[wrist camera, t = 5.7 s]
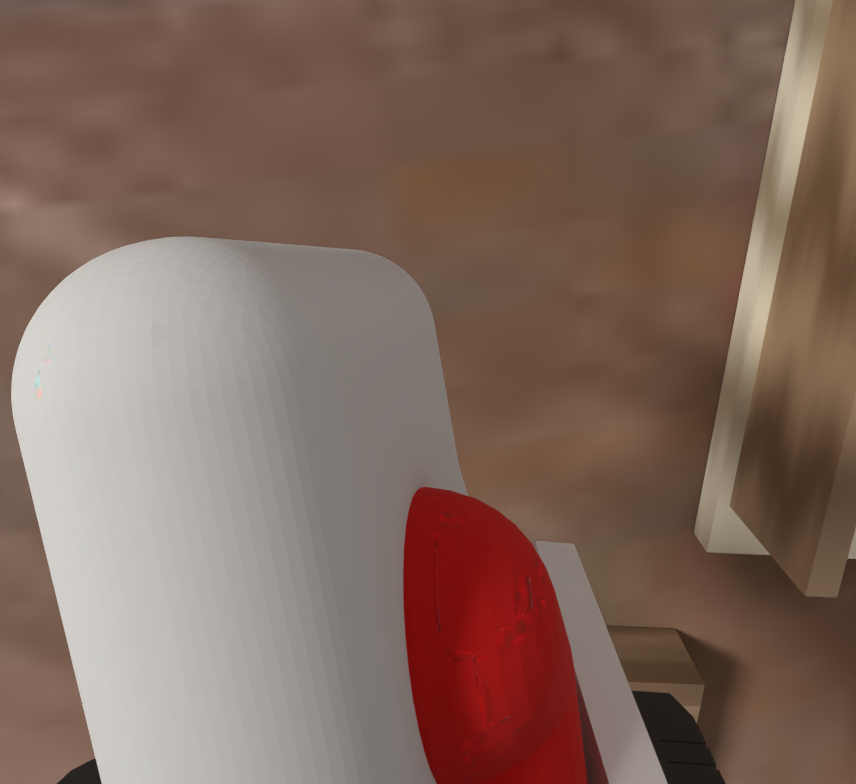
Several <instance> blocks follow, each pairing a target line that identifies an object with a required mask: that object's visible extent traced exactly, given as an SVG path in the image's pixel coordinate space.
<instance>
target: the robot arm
mask: <svg viewBox="0 0 856 784" xmlns="http://www.w3.org/2000/svg"><path fill="white" fill-rule="evenodd" d="M534 548H535V550H536V552H537V553H538V555H539V556H540V558H541V560H542V561H543V563H544V565H545V566H546V569H547V571H548V574H549V576H550V579H551V581H552V584H553V586H554V589H555V593H556V596H557V600H558V603H559V607H560V611H561V614H562V618H563V621H564V625H565V629H566V632H567V636H568V639H569V643H570V646H571V652H572V657H573V663H574V672H575V680H576V689H577V697H578V705H579V714H580V722H581V731H582V739H583V747H584V756H585V764H586V772H587V781H588V784H725V782H724V780H723V778H722V776H721V774H720V772H719V770H716V763H715V761H714V759H713V757H712V755H711V753H710V751H709V749H708V748H706V742H705V740H704V738H703V736H702V734H701V732H700V730H699V728H698V726H697V723H696V721H695V719H694V717H693V716H692V715H691V714H690V713H689V712H688V711H687V710H686V709H685V708H684V707H683V706H682V705H681V704H680V703H679V702H678V701H677V700H676V699H675V698H674V697H673V696H672V695H671V694H670V693H660V692H646V691H632V690H631V689H630V686H629V684H628V681H627V678H626V676H625V673H624V671H623V668H622V666H621V663H620V661H619V658H618V655H617V653H616V650H615V648H614V645H613V643H612V640H611V638H610V635H609V632H608V630H607V627H606V625H605V622H604V620H603V617H602V615H601V612H600V610H599V607H598V604H597V602H596V599H595V597H594V594H593V592H592V589H591V587H590V584H589V581H588V579H587V576H586V574H585V571H584V569H583V566H582V564H581V561H580V558H579V556H578V553H577V551H576V548H575V546H574V544H567V543H555V542H543V541H535V547H534ZM57 784H102V783H101V779H100V774H99V770H98V766H97V762H96V759H93V760H91V761H89V762H87V763H85V764H83V765H81V766H79V767H77V768H75V769H73V770H71V771H70V772H69V773H68V774H67V775H66V776H65V777H64V778H63V779H62V780H60V781H59V782H58V783H57Z"/></svg>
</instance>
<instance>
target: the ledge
mask: <svg viewBox="0 0 856 784" xmlns="http://www.w3.org/2000/svg"><path fill="white" fill-rule="evenodd" d="M694 534H695V536H696V537H697V539H698V540H699V542H700V543H701V544H702V546H703V547H704V549H705V550H706V552H710V553H733V554H755V555H771V556H772V557H773V559H774V560H775V561H776V562H777V563H778V565H779V566H780V567H781V568H782V569H783V571H784V572H785V573H786V574H787V575H788V577H789V578H790V579H791V580H792V581H793V582H794V584H795V585H796V586H797V587H798V588H799V590H800V591H801V592H802V593H803V594H804V596H810V597H834V598H837V596H838V593H839V589H840V585H841V581H842V577H843V574H844V570H845V566H846V562H847V559H856V0H795V5H794V11H793V16H792V21H791V26H790V32H789V37H788V42H787V47H786V53H785V58H784V63H783V68H782V74H781V79H780V84H779V89H778V94H777V100H776V105H775V110H774V115H773V121H772V126H771V131H770V136H769V142H768V147H767V152H766V157H765V163H764V168H763V173H762V178H761V183H760V189H759V194H758V199H757V204H756V210H755V215H754V220H753V225H752V231H751V236H750V241H749V246H748V251H747V257H746V262H745V267H744V272H743V278H742V283H741V288H740V293H739V299H738V304H737V309H736V314H735V320H734V325H733V330H732V335H731V340H730V346H729V351H728V356H727V361H726V367H725V372H724V377H723V382H722V388H721V393H720V398H719V403H718V409H717V414H716V419H715V424H714V429H713V435H712V440H711V445H710V450H709V456H708V461H707V466H706V471H705V477H704V482H703V487H702V492H701V497H700V503H699V508H698V513H697V518H696V524H695V529H694Z"/></svg>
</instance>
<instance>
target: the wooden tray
mask: <svg viewBox="0 0 856 784" xmlns="http://www.w3.org/2000/svg"><path fill="white" fill-rule="evenodd" d="M606 627H607V630H608V632H609V635H610V638H611V640H612V643H613V645H614V648H615V650H616V653H617V655H618V658H619V661H620V663H621V666H622V668H623V671H624V673H625V676H626V678H627V681H628V684H629V686H630V689H631V690H632V691H646V692H660V693H670V694H671V695H672V696H673V697H674V698H675V699H676V700H677V701H678V702H679V703H680V704H681V705H682V706H683V707H684V708H685V709H686V710H687V711H688V712H689V713H690V714H691V715H692V716H693V717H694V719H695V721H696V723H697V720H698V716H699V711H700V706H701V701H702V697H703V692H704V687H705V684H704V682H703V680H702V678H701V676H700V674H699V673H698V671H697V669H696V667H695V665H694V663H693V661H692V659H691V657H690V655H689V654H688V652H687V650H686V648H685V646H684V644H683V642H682V640H681V638H680V637H679V635H678V633H677V631H676V629H668V628H643V627H617V626H606Z"/></svg>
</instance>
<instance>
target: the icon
mask: <svg viewBox="0 0 856 784" xmlns="http://www.w3.org/2000/svg"><path fill="white" fill-rule="evenodd" d="M11 400H12V411H13V418H14V423H15V428H16V432H17V436H18V441H19V445H20V449H21V453H22V457H23V461H24V465H25V469H26V474H27V478H28V482H29V486H30V490H31V494H32V498H33V502H34V507H35V511H36V515H37V519H38V523H39V527H40V531H41V535H42V540H43V544H44V548H45V552H46V556H47V560H48V564H49V568H50V572H51V577H52V581H53V585H54V589H55V593H56V597H57V601H58V605H59V610H60V614H61V618H62V622H63V626H64V630H65V634H66V638H67V643H68V647H69V651H70V655H71V659H72V663H73V667H74V671H75V676H76V680H77V684H78V688H79V692H80V696H81V700H82V704H83V708H84V713H85V717H86V721H87V725H88V729H89V733H90V737H91V741H92V746H93V750H94V754H95V758H96V762H97V766H98V770H99V774H100V779H101V783H102V784H588V781H587V772H586V764H585V756H584V747H583V739H582V731H581V722H580V714H579V705H578V697H577V689H576V680H575V672H574V663H573V657H572V652H571V646H570V643H569V639H568V636H567V632H566V629H565V625H564V621H563V618H562V614H561V611H560V607H559V603H558V600H557V596H556V593H555V589H554V586H553V584H552V581H551V579H550V576H549V574H548V571H547V569H546V566H545V565H544V563H543V561H542V560H541V558H540V556H539V555H538V553H537V552H536V550H535V548H534V547H533V545H532V543H531V542H530V541H529V540H528V539H527V538H526V536H525V535H524V534H523V533H522V532H521V531H520V530H519V529H518V527H517V526H516V525H515V524H514V523H512V522H511V521H510V520H509V519H507V518H506V517H505V516H504V515H502V514H501V513H500V512H499V511H497V510H496V509H494V508H492V507H490V506H488V505H487V504H485V503H483V502H481V501H479V500H477V499H475V498H472V497H469V496H468V493H467V490H466V487H465V484H464V481H463V478H462V475H461V471H460V467H459V462H458V458H457V453H456V447H455V441H454V435H453V429H452V424H451V418H450V412H449V406H448V400H447V395H446V389H445V383H444V377H443V371H442V366H441V360H440V354H439V348H438V343H437V337H436V331H435V325H434V319H433V315H432V312H431V309H430V306H429V304H428V301H427V299H426V297H425V295H424V293H423V292H422V290H421V289H420V287H419V286H418V285H417V283H416V282H415V281H414V280H413V279H412V278H411V276H410V275H408V274H407V273H406V272H405V271H404V270H403V269H402V268H400V267H399V266H398V265H396V264H395V263H393V262H391V261H390V260H388V259H386V258H384V257H381V256H379V255H376V254H373V253H370V252H365V251H360V250H351V249H339V248H327V247H314V246H302V245H289V244H277V243H265V242H252V241H240V240H227V239H215V238H203V237H167V238H161V239H154V240H148V241H144V242H139V243H135V244H131V245H127V246H123V247H120V248H118V249H115V250H112V251H110V252H107V253H105V254H103V255H101V256H99V257H97V258H95V259H93V260H91V261H89V262H88V263H86V264H84V265H83V266H81V267H80V268H78V269H77V270H75V271H74V272H73V273H71V274H70V275H69V276H68V277H66V278H65V279H64V280H63V281H62V282H61V283H60V284H59V285H58V286H57V287H56V288H55V289H54V290H53V291H52V292H51V293H50V294H49V295H48V296H47V298H46V299H45V300H44V301H43V302H42V304H41V305H40V306H39V308H38V309H37V311H36V313H35V314H34V316H33V318H32V319H31V321H30V322H29V324H28V326H27V328H26V331H25V333H24V335H23V337H22V340H21V342H20V345H19V348H18V351H17V355H16V359H15V364H14V369H13V376H12V391H11Z"/></svg>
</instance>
